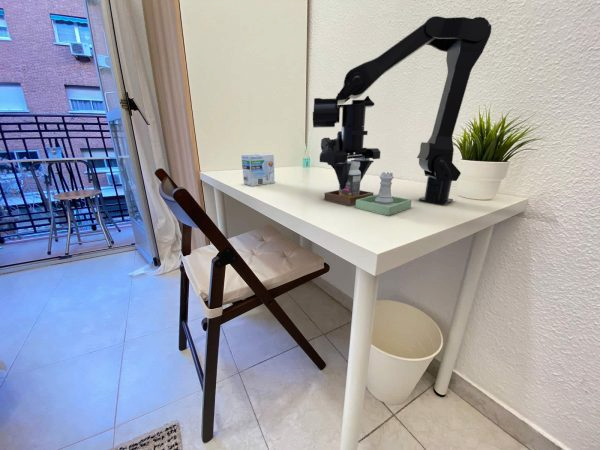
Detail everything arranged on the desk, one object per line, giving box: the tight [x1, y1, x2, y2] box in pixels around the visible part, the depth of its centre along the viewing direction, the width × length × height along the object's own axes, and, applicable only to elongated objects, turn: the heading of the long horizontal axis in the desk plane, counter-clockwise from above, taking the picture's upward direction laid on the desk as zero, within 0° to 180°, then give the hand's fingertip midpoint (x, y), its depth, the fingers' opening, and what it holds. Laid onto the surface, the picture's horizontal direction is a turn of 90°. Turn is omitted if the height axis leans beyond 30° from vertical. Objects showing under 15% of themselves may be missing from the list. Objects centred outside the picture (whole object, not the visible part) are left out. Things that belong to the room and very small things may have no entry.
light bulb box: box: [240, 153, 276, 187], centre depth 93 cm, size 11×7×11 cm, turn 132°
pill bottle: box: [338, 160, 362, 198], centre depth 67 cm, size 6×6×10 cm
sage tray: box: [355, 193, 413, 216], centre depth 61 cm, size 10×9×2 cm
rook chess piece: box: [375, 171, 395, 206], centre depth 60 cm, size 4×4×8 cm
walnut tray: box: [323, 189, 374, 207], centre depth 69 cm, size 10×9×2 cm
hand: (349, 187), depth 68 cm, fingers closed on pill bottle, 6 cm apart
